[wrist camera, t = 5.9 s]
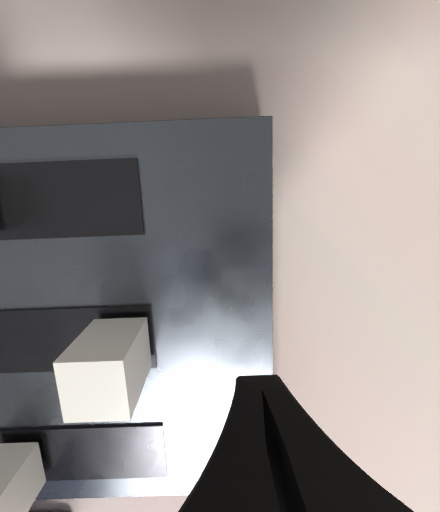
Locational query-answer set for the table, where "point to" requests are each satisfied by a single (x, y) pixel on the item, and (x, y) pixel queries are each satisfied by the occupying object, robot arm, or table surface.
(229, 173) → the panel
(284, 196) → the table surface
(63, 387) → the block
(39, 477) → the breaker
